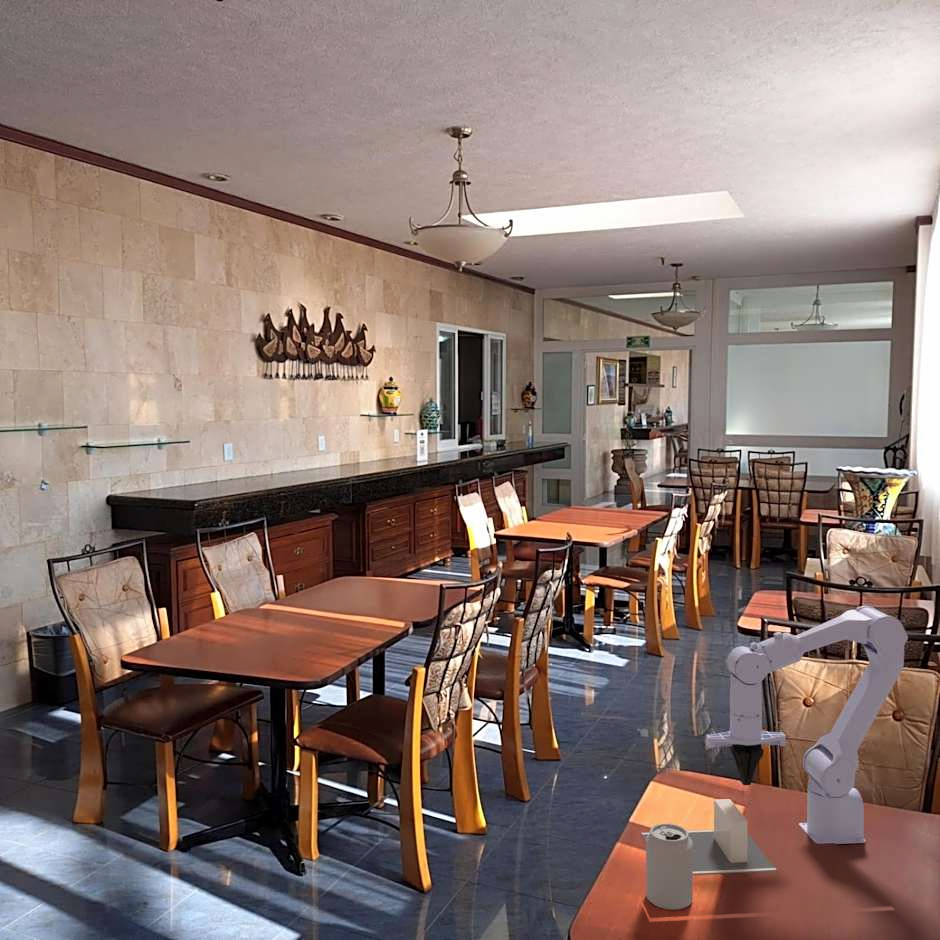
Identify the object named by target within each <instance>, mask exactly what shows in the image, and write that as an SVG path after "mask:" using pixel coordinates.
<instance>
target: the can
mask: <svg viewBox="0 0 940 940" xmlns="http://www.w3.org/2000/svg"><path fill="white" fill-rule="evenodd" d="M649 829H650V830H649V832H650V834H649V835H648V836H647V837H646V842H645V896H646V898H647V900H648V901H649V902H650V903H651V904H652V905H654V906H656V907H657V908H660V909H663V910H668V911H669V910H670V911H678V910H681V909H682V910H683V909H685V908H687V907H689V906H690V905H691V903H693V899H694V897H693V895H694V893H693V890H694V889H693V887H694V882H693V881H694V880H693V879H694V877H693V876H694V875H693V842H692V840H691V839H690V837H689V833H688V831H689V830H687V829H686V828H684V827H683V826H682V825H678V824H674V823H658V824H656V825H653V826H652V827H650V828H649Z"/></svg>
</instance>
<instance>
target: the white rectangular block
mask: <svg viewBox="0 0 940 940" xmlns="http://www.w3.org/2000/svg"><path fill="white" fill-rule="evenodd" d="M713 830H714V839H715V841H716V842H717V844H718V845H719V847H720V848H721V849H722V851H723V852H724V854H725V855H726V857H727V858H728V860H729V861H730V862H731V863H737V862H747V833H748V820H747V818H746V817H745V816H744V814H743V813H742V812H741V811H740V810H739V808H738V807H737V806H736V805H735V804H734V802H733V801H732V799H730V798H721V799H714V800H713Z"/></svg>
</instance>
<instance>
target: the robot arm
mask: <svg viewBox="0 0 940 940" xmlns="http://www.w3.org/2000/svg"><path fill="white" fill-rule="evenodd" d="M908 639H909V637H908V634H907V631H906V630H905V627H904V626H903V624H902V622H901V620H899V619H898V618H896V617H894V616H892V615H888V614H886V613H884V612H882V611H880V610H878V609H877V608H875V607H873V606H871V605H861V606H859V607H856V609H849V610H846V611H844V612H843V613H842V614H840V615H839V616H836V617H835V618H832V619H830V620H827V621H826V622H823V623H821V624H819V625H816V626H814V627H812V628H810V629H808V630H805V631H803V632H800V633H798V634H796V635H794V634H791V633H789V632H783V633H782V632H781V631H776V632H774V633H773V637H772V636H771V637H770V638H767V639H765V640H762V641H760V642H757V643H756V642H755V641H753V642H751V643H749V647H748V646H743V645H741V646H737V647H734V648H733V649H732V650H731V652H729V653H728V656H727V659H725V667H726V668H727V670H728V671H729V673H730V674H729V675H730V676H729V678H730V679H729V680H730V683H729V684H730V685H729V686H730V687H729V730H728V731H724V732H719V733H710V734H706V735H705V745H706V746H707V747H708V749H715V748H719V747H728V748H729V750H730V751H731V754H732V756H733V759H734V761H735V764H736V767H737V771H738V775H739V781H740V783H741V784H742V785H743V786H751V785H752V782H753V777H754V774H755V771H756V768H757V766H758V764H759V762H760V761H761V759H762V758H763V757H764V748H762V746H776V745H777V746H780V747H785V746H786V745H787V742H786V741H787V739H786V738H787V737H786V735H785V734H784V733H783V732H782V731H781V732H779V731H778V732H776V731H764V730H763V729H762V728H763V727H762V726H763V716H762V715H763V712H762V711H763V710H762V709H763V697H762V696H763V689H762V683H763V682H762V681H763V680H764V679H765V678H766V676H767V675H768V674H770V673H773V672H775V671H778V670H780V669H783V668H786V667H788V666H791V665H794V664H797V663H799V662H801V660H802V658H803V656H804V653H806V652H810V651H813V650H816V649H819V648H823V647H826V646H829V645H832V644H834V643H838V642H841V641H845V640H847V641H850V642H854V643H859V644H861V645H862V646H863V648H864V651H865V654H866V656H867V658H868V663H867V666H866V668H865V669H864V671H863V672H862V674H861V677H860V678H859V680H858V682H857V683H856V685H855V687H854V689H853V691H852V693H851V694H850V696H849V698H848V699H847V701H846V703H845V705H844V707H843V709H842V710H841V712H840V714H839V716H838V717H837V719H836V720H835V723H834V725H833V727H832V729H831V730H830V731H829V733H827V734H825V735H822V736H820V737H819V738H818V740H817V742H816V743H815V744H814V745H813V746H812V747H810V748H808V749H807V750H806V752H805V753H804V755H803V758H802V767H803V769H804V771H805V772H806V773H807V774H808V780H807V796H806V797H807V801H806V802H807V807H806V808H807V809H806V812H807V815H806V816H807V817H806V821H807V822H799V823H798V826H799V827H800V828H801V829H802V830H803V831H804V832H805V833H806V835H808V837H809V838H811V840H812V841H813V842H814V843H815V844H818V845H819V844H820V845H821V844H835V845H844V844H845V845H846V844H864V843H866V839H865V838H864V825H865V823H864V818H865V815H864V814H865V812H864V810H865V809H864V802H863V799H862V796H861V794H860V793H861V792H859V790H858V789H857V788H855V787H854V786H855V781H856V772H857V771H858V769H859V766H860V764H859V763H860V762H859V755H858V750H859V748H860V746H861V744H862V743H863V742H864V739H865V737H866V736H867V733H868V732H869V730H870V728H871V727H872V724H874V721H875V719H876V718H877V716H878V715H879V712H880V710H881V709H882V707H883V705H884V704H885V702H886V700H887V698H888V697H889V694H890V692H891V691H892V689H893V688H894V686H895V684H896V682H897V680H898V678H899V676H900V675H901V673H902V671H903V668H904V666H905V665H904V664H905V663H904V662H905V645H906V643H907V641H908Z"/></svg>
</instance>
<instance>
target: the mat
mask: <svg viewBox="0 0 940 940" xmlns="http://www.w3.org/2000/svg"><path fill="white" fill-rule="evenodd" d="M687 831H688V833H689V837H690V839H691V840H692V842H693V876H706V875H708V876H709V875H724V874H725V875H727V874H728V875H729V874H749V873H752V874H753V873H769V872H770V873H773V872H776V873H777V872H778V870H777V868H776V867H775V866H774V865H773V864H772V862H771V861H770V860H769V858H768V857H767V856H766V855H765V853H764V852H763V851H762V849H761V848H760V847H759V846H758V844H757V843H756V842H755V840H753V838H752V837H751V835H750V834H749V833H748V832H747V862H737V863H731V862H730V861H729V860H728V858H727V857H726V855H725V854H724V852H723V851H722V849H721V848H720V847H719V845H718V844H717V842H716V841H715V839H714V829H696V830H687ZM640 834H641V836H642V838H643V840H644V842H645V843H646V837H647V836H648V835H649V834H650V831H649V832H640Z"/></svg>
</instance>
